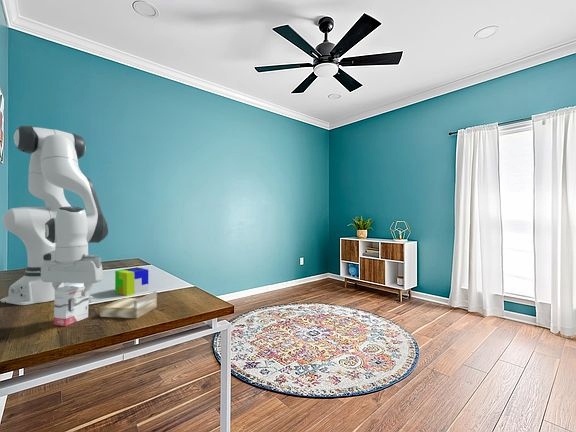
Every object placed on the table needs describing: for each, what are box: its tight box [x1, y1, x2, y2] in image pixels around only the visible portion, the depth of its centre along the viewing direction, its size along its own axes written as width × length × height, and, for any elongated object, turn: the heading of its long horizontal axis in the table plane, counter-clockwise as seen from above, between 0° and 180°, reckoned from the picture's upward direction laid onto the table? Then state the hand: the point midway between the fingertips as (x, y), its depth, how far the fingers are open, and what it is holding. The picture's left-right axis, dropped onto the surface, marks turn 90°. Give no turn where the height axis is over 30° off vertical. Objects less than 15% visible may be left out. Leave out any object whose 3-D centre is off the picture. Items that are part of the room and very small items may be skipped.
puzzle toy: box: [114, 267, 149, 297], centre depth 131 cm, size 10×10×10 cm
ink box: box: [53, 283, 90, 327], centre depth 95 cm, size 9×5×12 cm, turn 168°
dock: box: [99, 291, 158, 319], centre depth 104 cm, size 14×12×6 cm
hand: (72, 295), depth 95 cm, fingers open, 8 cm apart
